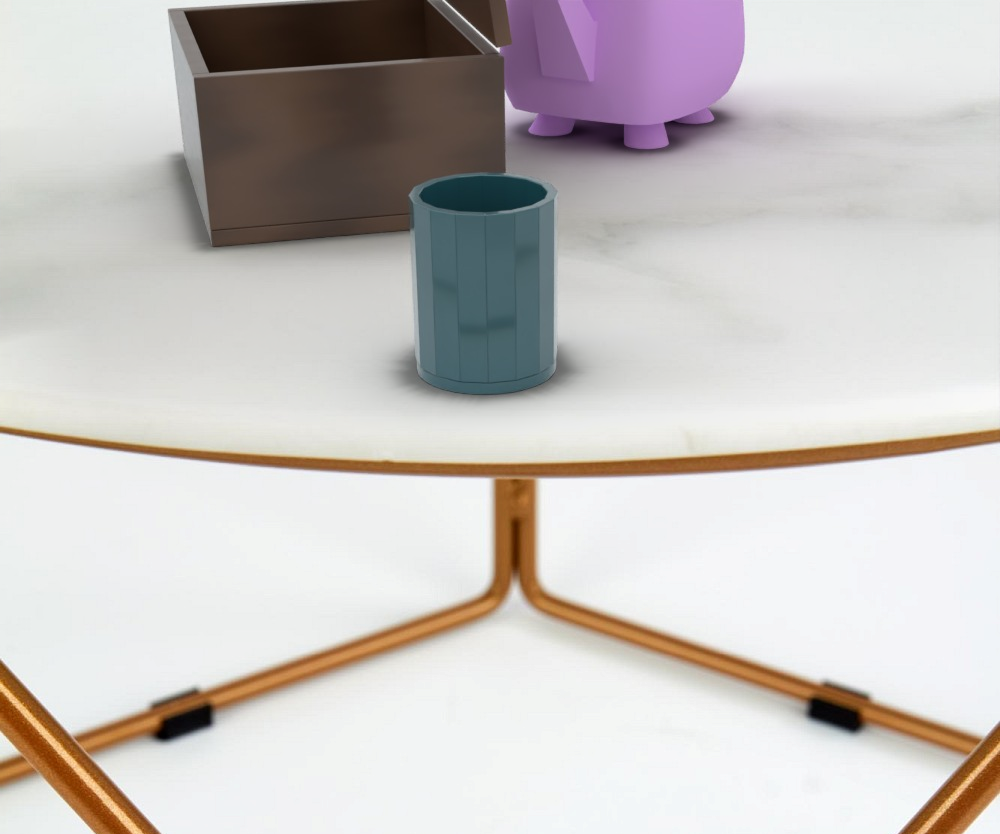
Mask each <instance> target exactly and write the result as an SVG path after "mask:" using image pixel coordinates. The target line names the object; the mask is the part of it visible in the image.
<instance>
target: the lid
mask: <svg viewBox="0 0 1000 834" xmlns="http://www.w3.org/2000/svg"><path fill="white" fill-rule="evenodd" d="M444 2H445V3H446V4H447V5H448V6H449V7H451V8H453V10H454V11H455V12H456V13H457V14H458V15H459V16H460V17H461V18H463V19H464V20H465V21H466V22H467V23H468V24H469V25H470V26H471V27H472V28H473V29H474V30H476V31H477V32H478V33H479V34H480V35H481V36H482V37H483V38H484V39H485V40H486V41H488V42H489V43H490V44H491V45H492V46H493V47H494V48H495V49H500V47H503V46H507V45H511V44H512V38H511V32H510V25H509V18H508V12H507V5H506V0H444Z"/></svg>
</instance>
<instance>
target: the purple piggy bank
mask: <svg viewBox="0 0 1000 834" xmlns="http://www.w3.org/2000/svg"><path fill="white" fill-rule="evenodd" d="M506 5H507V12H508V18H509V25H510V32H511V38H512V44H511V45H507V46H503V47H499V51H498V52H499V53H500V54H501V55H503V56H504V71H505V95H506V96H507V99H508V100H509V102H510V103H511V107H512V108H513V109H515V110H518V111H522V112H527V113H533V114H537V115H536V117H535V119H534V120H533V121H532V124H531V125H530V127H529V128H528V130H527V131H528V133H530V134H531V135H535V136H541V137H559V136H565V135H568V134H570V133H572V132H573V129H574V126H575V123H576V121H577V120H580V121H590V122H599V123H609V124H615V125H616V124H617V125H623V144H624V146H626V147H628V148H632V149H639V150H656V149H662V148H666V147H667V146H668V145H670V142H669V137H668V134H667V130H666V126H665V123H668V122H671V121H673V122H676V123H679V124H688V125H699V124H707V123H711V122H713V121H715V116H714V115H713V113H712V112H711V110H710V108H709V107H711V106H712V105H714V104H716V103H717V102H718V101H719V100H721V99H722V98H723V97H725V96H726V94H728V92H729V91H730V89H731V88H732V86H733V84H734V83H735V80H736V78H737V77H738V74H739V72H740V69H741V66H742V64H743V60H744V55H745V45H746V43H745V42H746V27H745V26H746V25H745V24H746V23H745V22H746V21H745V9H744V0H506Z"/></svg>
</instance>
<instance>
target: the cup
mask: <svg viewBox="0 0 1000 834" xmlns="http://www.w3.org/2000/svg"><path fill="white" fill-rule="evenodd" d="M408 199H409V222H410V230H409V240H410V241H409V242H410V243H409V244H410V263H411V265H410V266H411V267H410V268H411V285H412V287H411V289H412V307H413V309H412V310H413V331H414V334H413V335H414V354H415V356H414V357H415V360H416V371H417V373H418V376H419V377H420V379H422V380H423V381H424V382H425V383H427V384H429V385H430V386H432V387H435V388H438V389H441V390H444V391H448V392H453V393H459V394H466V395H500V394H501V395H503V394H508V393H516V392H520V391H521V392H522V391H524V390H528V389H532V388H534V387H537V386H539V385H542V384H543V383H546V382H547V381H548V380H549V379H550V378H551V377H552V376H554V374H555V372H556V369H557V356H558V267H559V265H558V257H559V256H558V255H559V254H558V252H559V249H558V247H559V246H558V245H559V244H558V242H559V239H558V237H559V235H558V234H559V233H558V232H559V231H558V229H559V208H558V207H559V191H558V190H557V189H556V188H555V187H554V186H553V185H552V183H551V182H548V181H545V180H542V179H540V178H537V177H535V176H529V175H523V174H518V173H517V174H516V173H511V172H510V173H508V172H506V173H487V172H482V173H480V172H479V173H467V174H455V175H449V176H445V177H440V178H435V179H431V180H428V181H426V182H424V183H422V184H419V185H417V186H415V187H414V188H413V189H412V191H411V192H410V194H409V195H408Z"/></svg>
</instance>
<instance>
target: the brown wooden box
mask: <svg viewBox="0 0 1000 834" xmlns="http://www.w3.org/2000/svg"><path fill="white" fill-rule="evenodd" d="M167 17H168V18H167V19H168V25H169V34H170V35H169V36H170V43H171V51H172V60H173V61H172V62H173V69H174V78H175V86H176V95H177V103H178V104H177V105H178V113H179V121H180V131H181V139H182V147H183V157H184V160H185V163H186V166H187V169H188V172H189V176H190V179H191V182H192V185H193V189H194V192H195V195H196V199H197V202H198V205H199V209H200V211H201V215H202V218H203V221H204V225H205V228H206V231H207V234H208V238H209V241H210V244H211V246H212V248H214V247H226V246H239V245H250V244H261V243H273V242H274V243H275V242H284V241H285V242H286V241H297V240H307V239H319V238H320V239H321V238H330V237H331V238H332V237H342V236H343V237H345V236H355V235H367V234H377V233H389V232H391V233H392V232H402V231H410V222H409V199H408V195H409V194H410V192H411V191H412V189H413V188H414V187H415V186H417V185H419V184H422V183H424V182H426V181H428V180H431V179H435V178H440V177H445V176H449V175H455V174H467V173H479V172H480V173H482V172H487V173H507V169H506V168H507V163H506V162H507V161H506V156H507V155H506V92H505V71H504V56H503V55H501V54H500V53H499V52H500V51H498V50H497V48H496V47H495V46H494V45H492V44H491V43H490V42H489V41H488V40H487V39H486V38H485V37H484V36H483V35H482V34H481V33H479V32H478V31H477V30H476V29H475V28H474V27H473V26H472V25H471V24H470V23H469V22H468V21H466V20H465V19H464V18H463V17H462V16H461V15H460V14H459V13H458V12H457V11H456V10H455V9H452V7H451V6H450V5H449V4H448V3H447V2H446V1H445V0H290V1H273V2H257V3H255V2H254V3H239V4H224V5H223V4H222V5H207V6H190V7H174V8H173V7H172V8H167Z"/></svg>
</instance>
